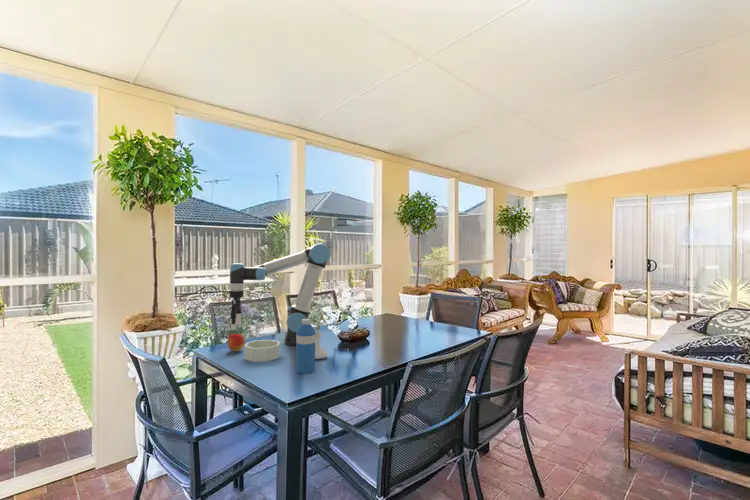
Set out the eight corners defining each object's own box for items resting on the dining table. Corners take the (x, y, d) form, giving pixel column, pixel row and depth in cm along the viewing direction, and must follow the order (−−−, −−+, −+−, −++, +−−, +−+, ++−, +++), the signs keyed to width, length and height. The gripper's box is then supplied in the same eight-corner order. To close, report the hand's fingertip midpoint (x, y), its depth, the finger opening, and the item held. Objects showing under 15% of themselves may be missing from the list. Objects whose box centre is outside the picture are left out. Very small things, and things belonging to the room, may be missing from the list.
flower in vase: (323, 361, 200) (324, 314, 199) (303, 360, 202) (304, 313, 202) (331, 354, 212) (332, 310, 212) (312, 353, 215) (313, 309, 215)
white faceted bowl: (280, 351, 218) (280, 339, 218) (278, 360, 200) (278, 347, 200) (247, 352, 214) (247, 340, 214) (242, 362, 197) (242, 348, 197)
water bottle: (313, 373, 180) (313, 321, 180) (293, 373, 181) (294, 321, 180) (316, 367, 190) (317, 318, 190) (298, 367, 190) (298, 317, 190)
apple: (236, 354, 212) (236, 336, 212) (223, 352, 215) (223, 334, 215) (248, 349, 221) (248, 332, 221) (235, 347, 224) (235, 331, 224)
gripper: (233, 287, 229) (232, 322, 229) (225, 292, 205) (224, 332, 205) (246, 288, 231) (245, 322, 231) (240, 293, 206) (239, 331, 206)
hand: (235, 327), depth 218 cm, fingers open, 13 cm apart
